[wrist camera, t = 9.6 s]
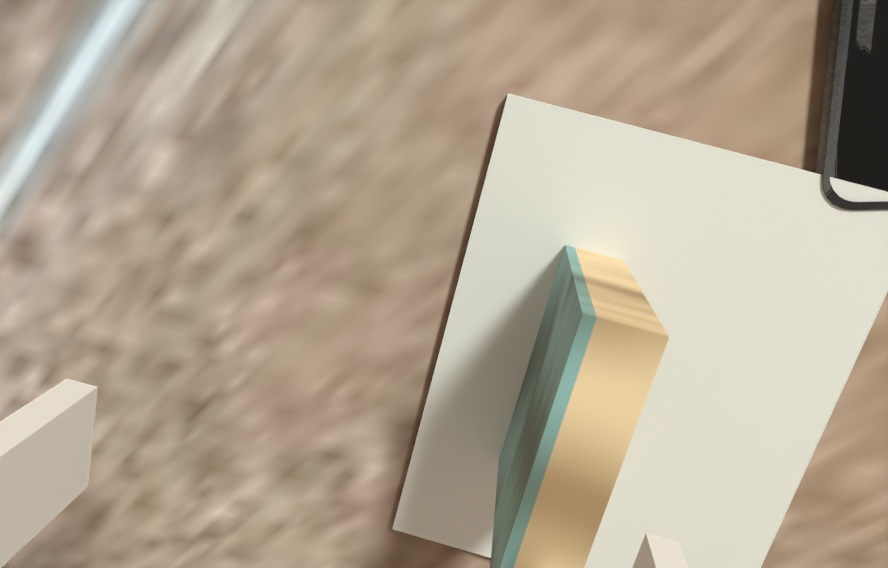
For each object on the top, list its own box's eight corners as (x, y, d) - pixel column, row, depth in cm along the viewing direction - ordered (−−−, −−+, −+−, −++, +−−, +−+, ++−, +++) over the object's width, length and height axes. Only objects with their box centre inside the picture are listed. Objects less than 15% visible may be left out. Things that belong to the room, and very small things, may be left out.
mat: (394, 521, 32) (392, 529, 32) (508, 93, 26) (507, 93, 26) (728, 619, 31) (732, 628, 31) (919, 200, 26) (928, 202, 25)
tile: (565, 244, 27) (582, 313, 19) (624, 260, 27) (669, 337, 18) (498, 460, 30) (487, 606, 21) (551, 475, 30) (561, 628, 21)
